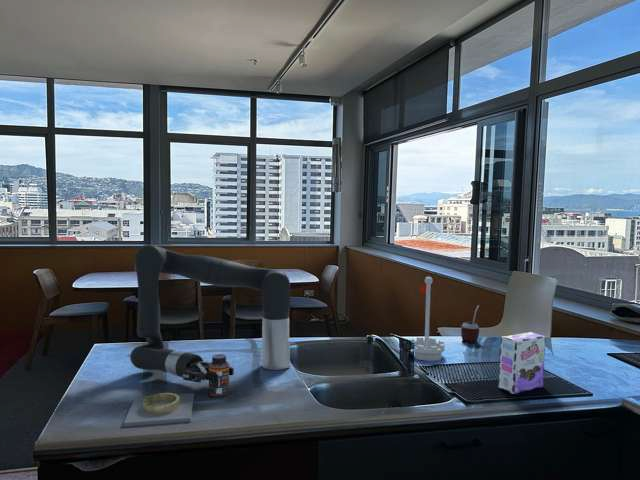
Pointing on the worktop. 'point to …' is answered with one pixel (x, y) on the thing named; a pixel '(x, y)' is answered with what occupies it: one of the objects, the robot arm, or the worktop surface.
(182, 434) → the worktop surface
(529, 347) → the candy box
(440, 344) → the flag stand
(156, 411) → the brass collar
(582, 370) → the worktop surface
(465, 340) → the mate gourd
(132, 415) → the grey square plate
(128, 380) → the worktop surface
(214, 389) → the supplement bottle
